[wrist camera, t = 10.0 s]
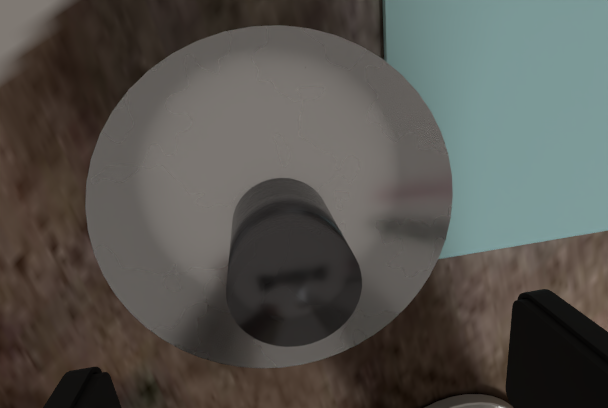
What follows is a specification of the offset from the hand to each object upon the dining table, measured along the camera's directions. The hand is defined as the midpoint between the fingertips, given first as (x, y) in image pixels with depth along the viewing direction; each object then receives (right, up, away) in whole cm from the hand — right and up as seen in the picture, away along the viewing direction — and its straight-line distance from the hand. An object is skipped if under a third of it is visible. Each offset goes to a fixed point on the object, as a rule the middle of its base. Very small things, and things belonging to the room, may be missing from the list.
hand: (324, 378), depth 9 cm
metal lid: (-1, +3, +8) cm, 9 cm away
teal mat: (+13, +10, +14) cm, 22 cm away
